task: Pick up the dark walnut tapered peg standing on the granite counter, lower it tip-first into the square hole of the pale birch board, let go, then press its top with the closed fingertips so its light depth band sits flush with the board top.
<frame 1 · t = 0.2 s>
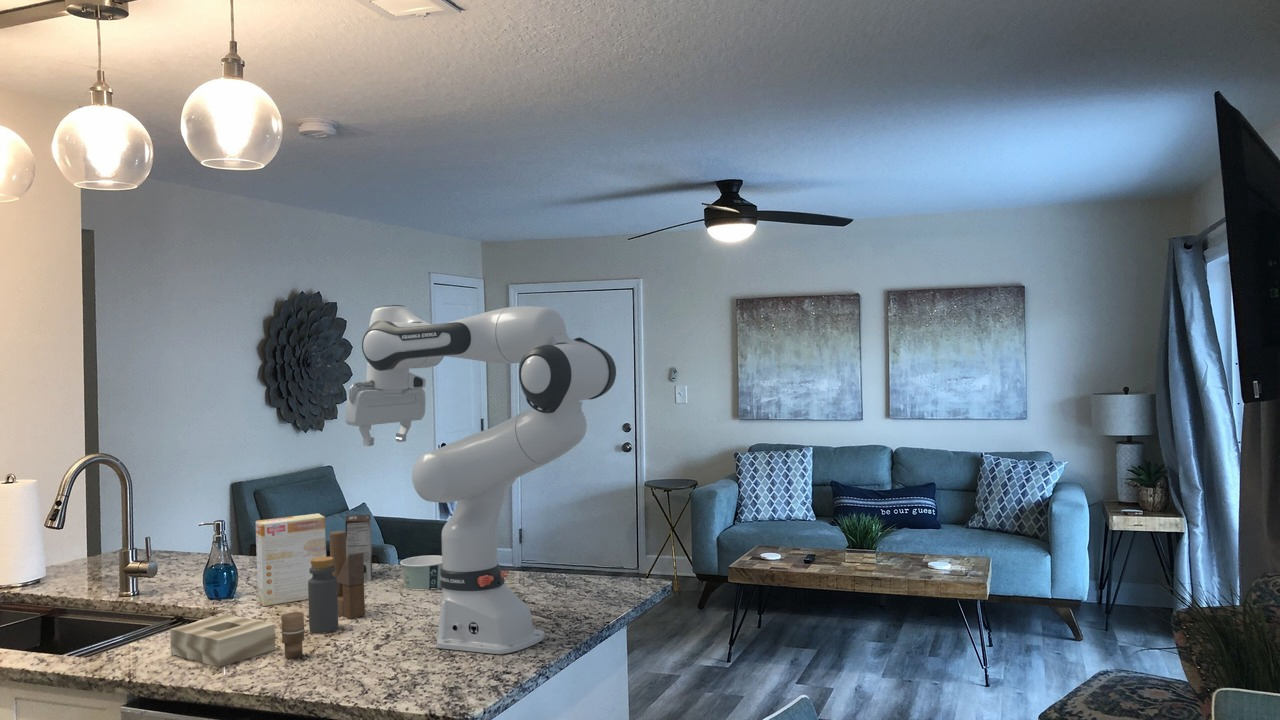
hand: (384, 443, 203), 39 cm above the worktop, tool pointing down, fingers open, 8 cm apart
coffee box: (359, 579, 245), on the worktop
food container: (425, 587, 235), on the worktop
bottle: (323, 630, 198), on the worktop
peg: (293, 656, 180), on the worktop
wooden block: (346, 614, 211), on the worktop
board: (223, 652, 184), on the worktop
coffeecake box: (292, 599, 226), on the worktop
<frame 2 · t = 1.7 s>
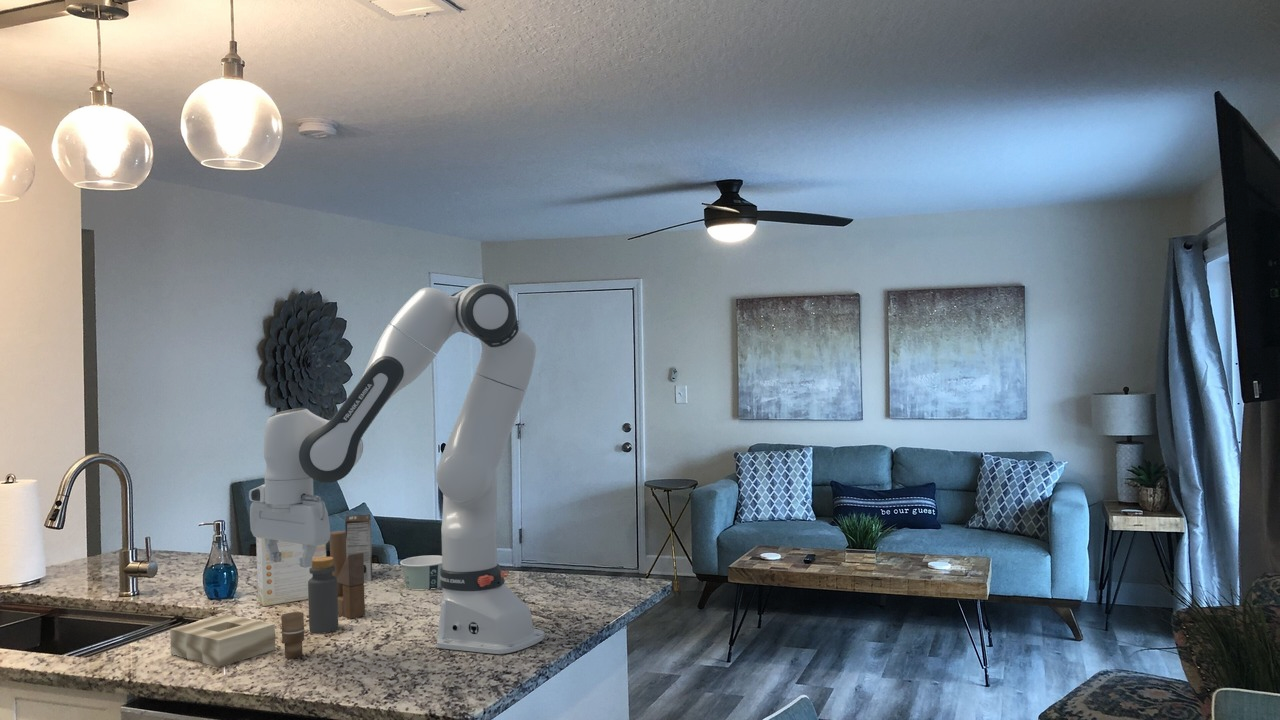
hand: (290, 564, 181), 18 cm above the worktop, tool pointing down, fingers open, 8 cm apart
nothing on the worktop moved.
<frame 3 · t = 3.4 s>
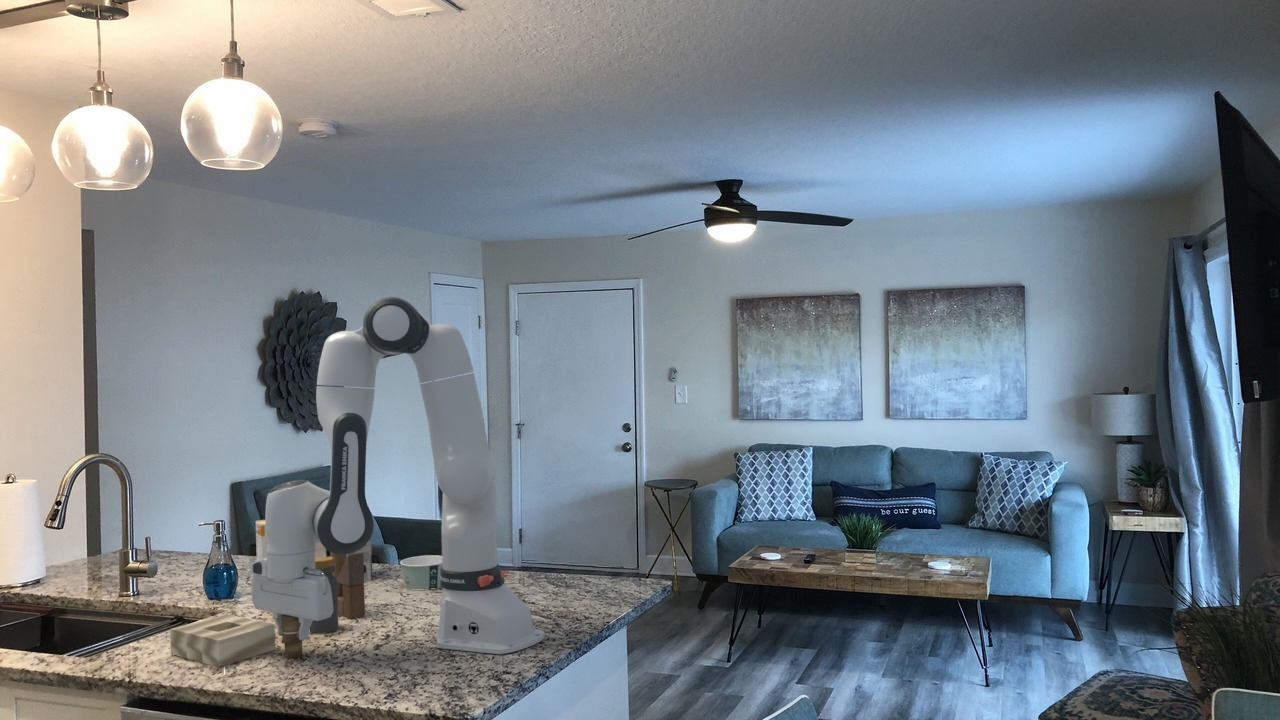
hand: (293, 637, 180), 4 cm above the worktop, tool pointing down, fingers closed on peg, 4 cm apart
peg: (293, 656, 180), on the worktop, touching gripper
everything else where it was.
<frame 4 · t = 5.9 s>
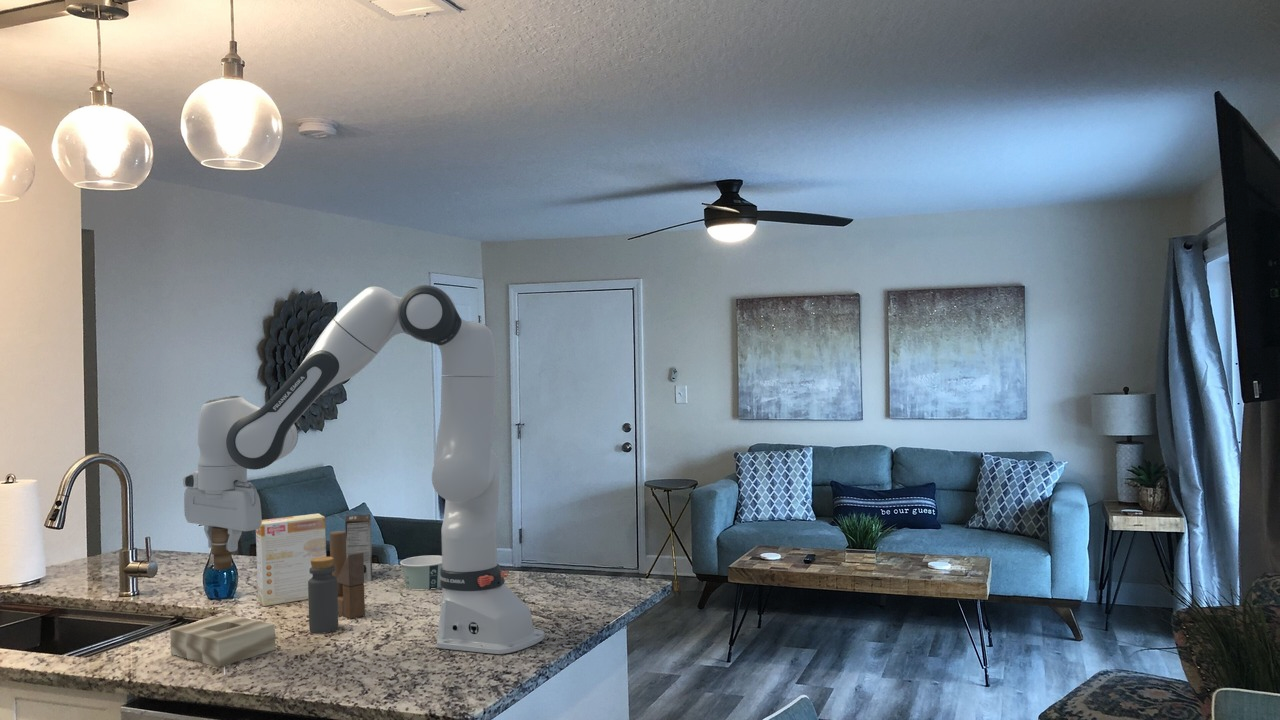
hand: (222, 549, 184), 20 cm above the worktop, tool pointing down, fingers closed on peg, 4 cm apart
peg: (222, 567, 184), point 17 cm above the worktop, touching gripper
everything else where it was.
when the fingers open (6 cm above the worktop, at t = 8.3 s): peg drops 2 cm, resting in board.
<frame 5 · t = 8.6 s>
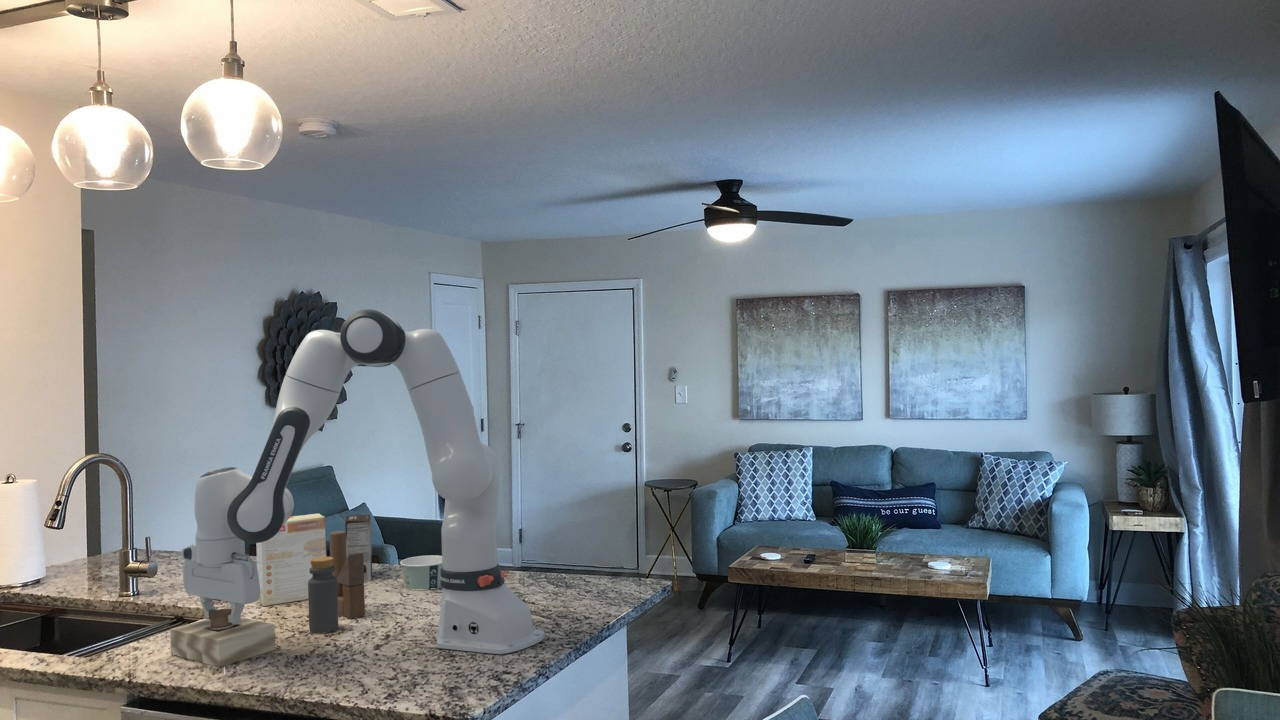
hand: (222, 621, 184), 6 cm above the worktop, tool pointing down, fingers open, 6 cm apart
peg: (223, 651, 184), resting in board
everything else where it was.
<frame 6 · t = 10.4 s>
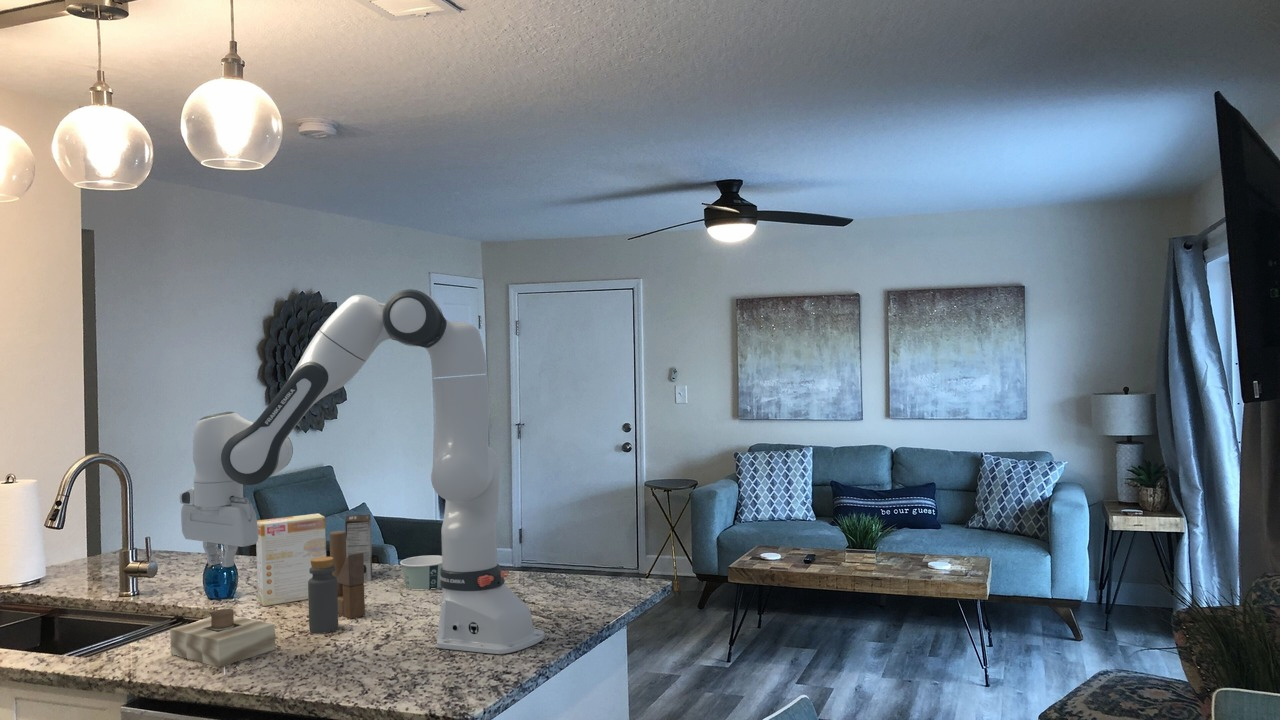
hand: (220, 565, 184), 17 cm above the worktop, tool pointing down, fingers open, 3 cm apart
nothing on the worktop moved.
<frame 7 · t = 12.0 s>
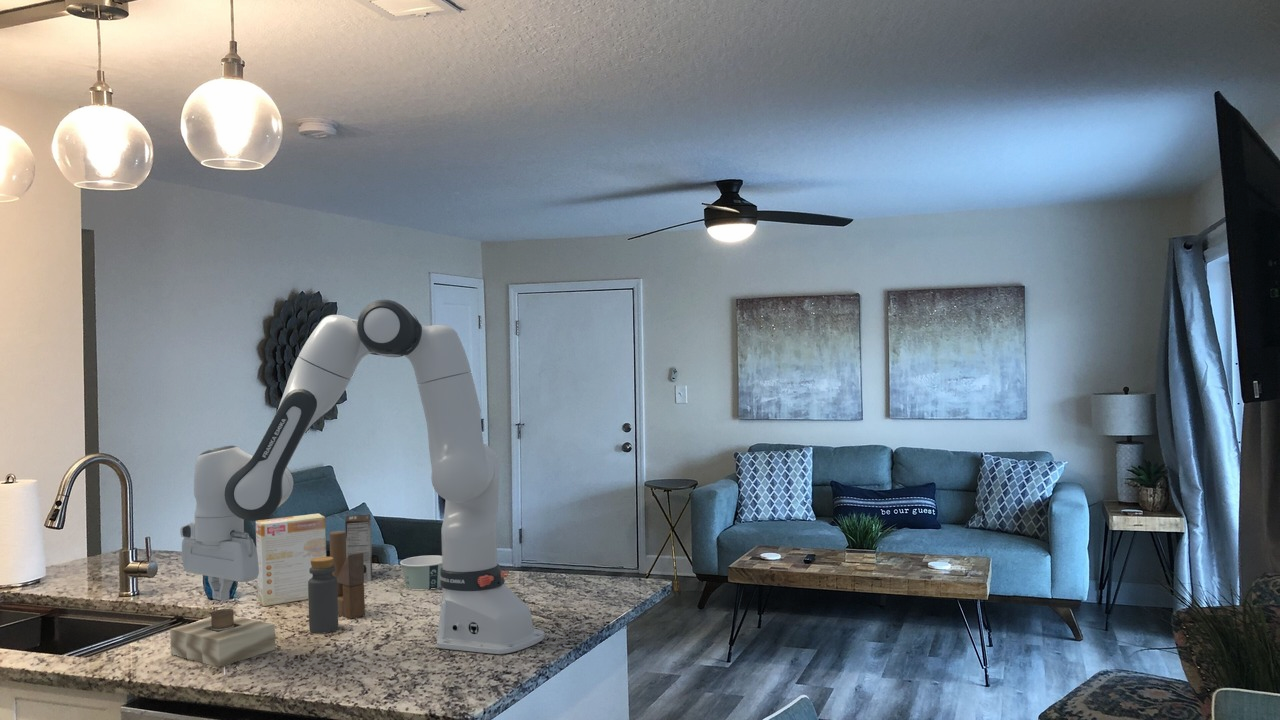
hand: (221, 599, 184), 10 cm above the worktop, tool pointing down, fingers closed
nothing on the worktop moved.
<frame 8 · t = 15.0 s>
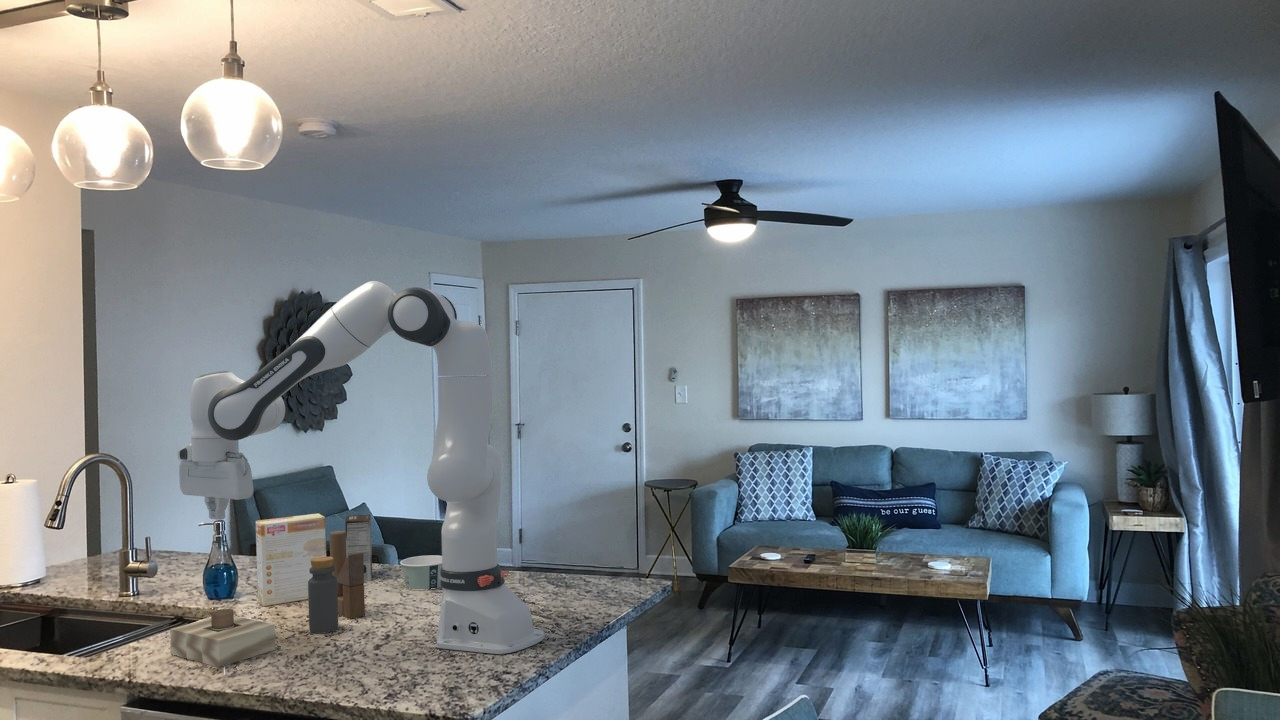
hand: (217, 519, 191), 25 cm above the worktop, tool pointing down, fingers closed
nothing on the worktop moved.
at the end: peg 0.1 cm off-centre on the board, point 0.0 cm above the board's base; peg tilted 0°; the gripper is holding nothing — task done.
